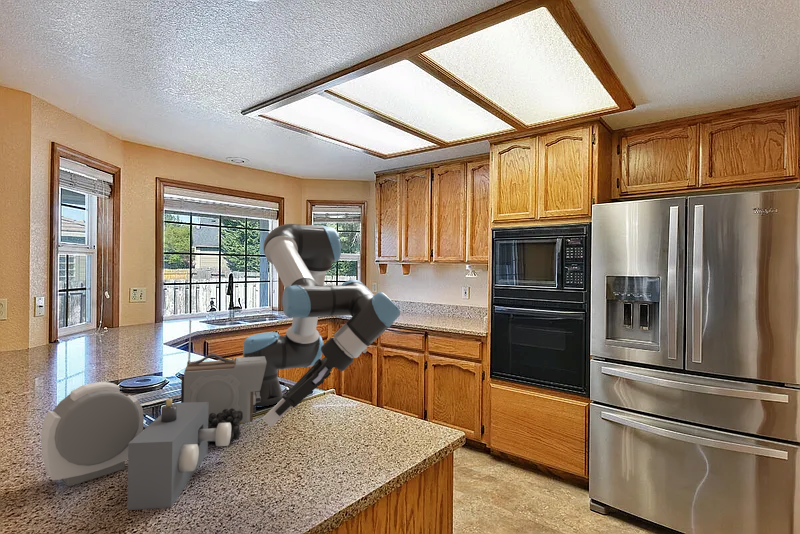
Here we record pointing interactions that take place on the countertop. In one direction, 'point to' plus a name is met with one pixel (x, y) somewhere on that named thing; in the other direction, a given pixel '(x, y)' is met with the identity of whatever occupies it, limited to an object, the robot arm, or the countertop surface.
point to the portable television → (224, 383)
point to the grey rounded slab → (90, 433)
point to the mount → (164, 457)
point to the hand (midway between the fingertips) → (267, 421)
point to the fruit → (227, 421)
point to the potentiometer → (168, 412)
